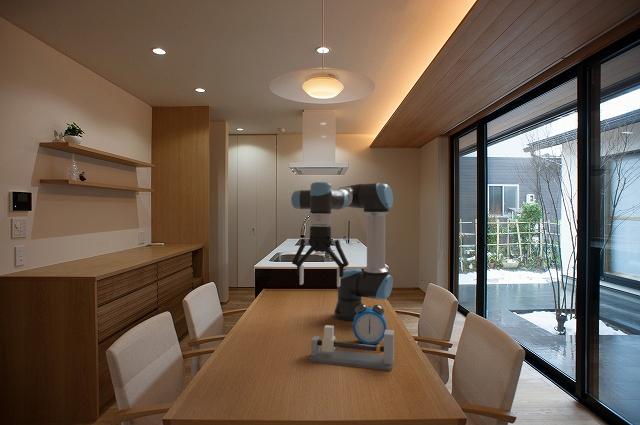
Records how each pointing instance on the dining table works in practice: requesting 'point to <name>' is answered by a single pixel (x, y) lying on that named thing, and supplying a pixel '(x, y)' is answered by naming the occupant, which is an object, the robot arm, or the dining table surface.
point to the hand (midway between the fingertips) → (319, 285)
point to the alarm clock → (369, 324)
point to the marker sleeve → (328, 339)
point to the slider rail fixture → (356, 354)
